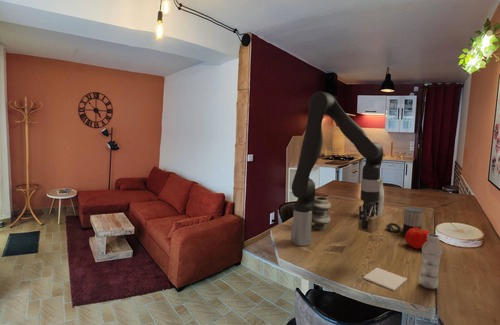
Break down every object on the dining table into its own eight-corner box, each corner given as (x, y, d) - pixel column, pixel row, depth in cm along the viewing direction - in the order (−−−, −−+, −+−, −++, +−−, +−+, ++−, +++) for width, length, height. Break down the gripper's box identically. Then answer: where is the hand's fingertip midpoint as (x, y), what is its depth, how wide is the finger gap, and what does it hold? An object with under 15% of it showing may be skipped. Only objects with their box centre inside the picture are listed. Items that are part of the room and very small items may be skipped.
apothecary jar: (307, 230, 170) (309, 199, 167) (309, 223, 181) (311, 194, 179) (329, 232, 166) (331, 201, 164) (330, 225, 178) (332, 196, 175)
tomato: (435, 252, 142) (437, 234, 141) (408, 250, 145) (409, 232, 144) (426, 243, 153) (428, 227, 152) (401, 241, 155) (403, 225, 154)
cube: (358, 229, 129) (358, 216, 128) (364, 226, 133) (365, 213, 132) (371, 233, 124) (372, 219, 124) (377, 230, 129) (378, 216, 128)
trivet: (363, 278, 117) (363, 276, 117) (376, 268, 125) (376, 267, 125) (394, 291, 108) (394, 289, 108) (407, 280, 116) (407, 278, 116)
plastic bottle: (430, 281, 115) (435, 232, 112) (442, 291, 108) (448, 239, 106) (414, 281, 115) (418, 232, 112) (425, 291, 108) (430, 239, 106)
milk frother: (424, 238, 160) (426, 211, 158) (394, 237, 161) (396, 210, 159) (410, 229, 174) (413, 204, 173) (383, 228, 175) (385, 204, 173)
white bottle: (362, 216, 197) (365, 175, 193) (373, 215, 201) (376, 174, 198) (374, 221, 188) (377, 177, 184) (385, 219, 192) (388, 176, 189)
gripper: (369, 185, 134) (367, 221, 136) (353, 190, 124) (351, 229, 126) (386, 188, 129) (383, 225, 131) (371, 193, 119) (369, 233, 121)
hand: (368, 227), depth 128 cm, fingers closed on cube, 6 cm apart
